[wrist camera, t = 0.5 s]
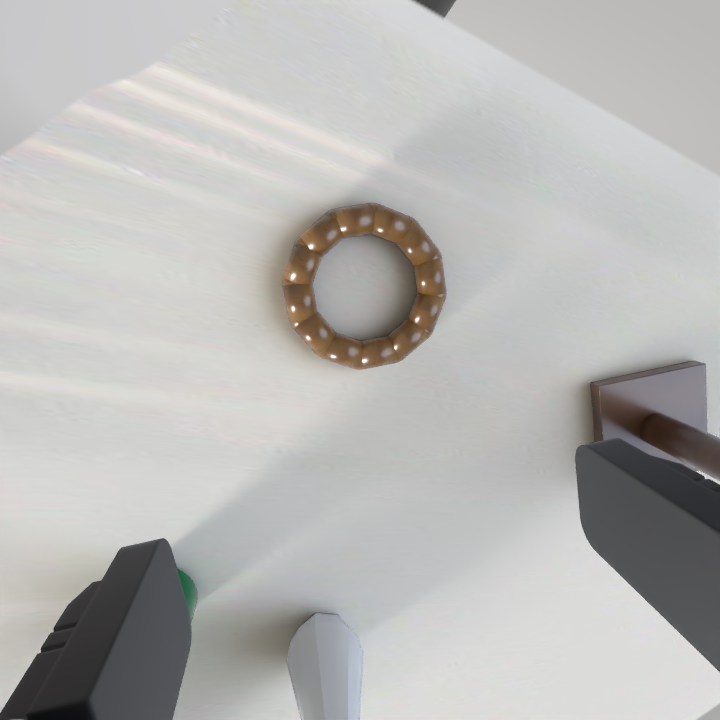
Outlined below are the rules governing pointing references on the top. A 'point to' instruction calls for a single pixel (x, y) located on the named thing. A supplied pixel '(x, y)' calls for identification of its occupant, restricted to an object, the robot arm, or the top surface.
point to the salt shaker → (326, 669)
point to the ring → (324, 239)
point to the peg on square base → (659, 415)
